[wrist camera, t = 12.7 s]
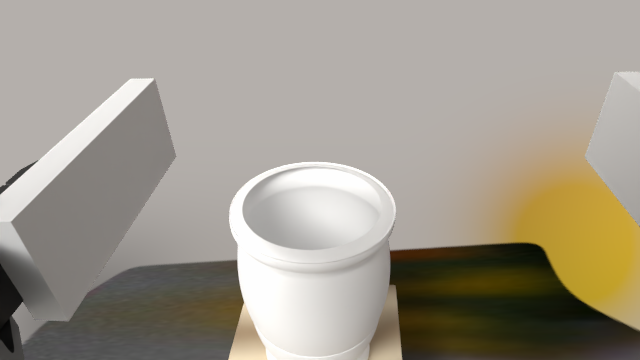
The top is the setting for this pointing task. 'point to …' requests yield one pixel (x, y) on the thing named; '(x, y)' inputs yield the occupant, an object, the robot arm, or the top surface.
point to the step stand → (383, 346)
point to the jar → (314, 258)
